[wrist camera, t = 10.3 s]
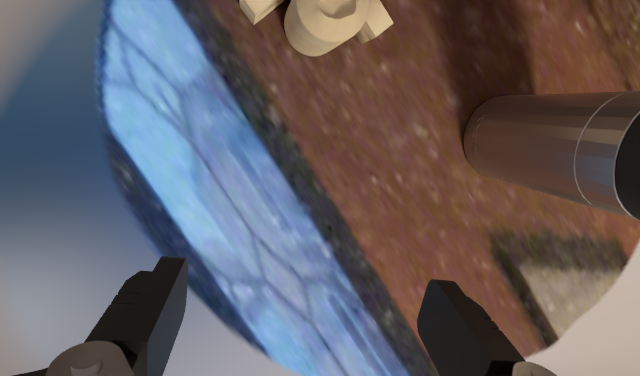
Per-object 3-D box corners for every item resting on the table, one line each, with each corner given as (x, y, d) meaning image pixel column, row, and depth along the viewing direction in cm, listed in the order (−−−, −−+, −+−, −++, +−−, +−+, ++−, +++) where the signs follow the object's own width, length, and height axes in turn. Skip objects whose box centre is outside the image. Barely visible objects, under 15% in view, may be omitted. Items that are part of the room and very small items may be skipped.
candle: (351, 28, 35) (391, -1, 26) (312, 69, 35) (337, 55, 26) (312, -19, 34) (339, -68, 24) (271, 24, 34) (281, -8, 24)
